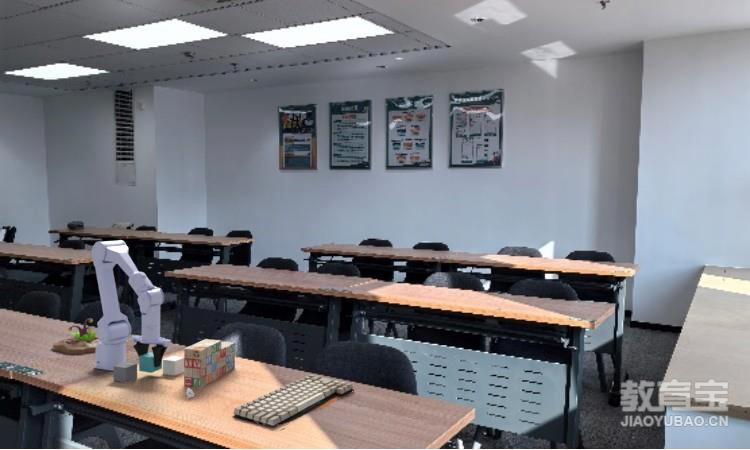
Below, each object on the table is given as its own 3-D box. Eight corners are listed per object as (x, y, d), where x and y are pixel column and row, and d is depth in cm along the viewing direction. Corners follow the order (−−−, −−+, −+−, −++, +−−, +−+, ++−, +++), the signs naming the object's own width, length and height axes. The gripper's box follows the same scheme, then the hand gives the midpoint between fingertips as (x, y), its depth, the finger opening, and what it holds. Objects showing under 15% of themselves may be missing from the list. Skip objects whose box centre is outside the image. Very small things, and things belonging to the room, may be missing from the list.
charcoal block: (113, 381, 183) (113, 366, 183) (124, 376, 188) (124, 361, 188) (125, 383, 182) (125, 367, 181) (137, 378, 186) (137, 363, 186)
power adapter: (184, 397, 171) (184, 387, 171) (193, 395, 173) (193, 385, 173) (188, 400, 169) (188, 390, 169) (196, 398, 171) (196, 388, 170)
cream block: (162, 374, 192) (162, 359, 191) (172, 369, 196) (172, 355, 196) (175, 375, 190) (175, 361, 190) (184, 371, 195) (184, 357, 194)
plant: (123, 346, 225) (123, 318, 224) (75, 357, 208) (75, 327, 208) (94, 338, 235) (93, 311, 235) (46, 349, 219) (45, 320, 218)
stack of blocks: (219, 366, 201) (219, 332, 201) (235, 368, 200) (235, 334, 199) (183, 385, 181) (183, 347, 180) (200, 388, 179) (201, 349, 178)
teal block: (139, 370, 187) (139, 356, 187) (149, 366, 192) (149, 352, 192) (151, 372, 186) (151, 357, 185) (161, 368, 190) (162, 353, 190)
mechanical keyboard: (281, 433, 148) (281, 421, 147) (227, 418, 157) (227, 406, 157) (356, 392, 180) (356, 381, 180) (307, 381, 190) (307, 371, 190)
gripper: (124, 325, 186) (124, 366, 187) (160, 330, 182) (160, 371, 183) (139, 321, 193) (139, 360, 194) (175, 325, 188) (174, 365, 189)
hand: (150, 365), depth 189 cm, fingers closed on teal block, 5 cm apart
